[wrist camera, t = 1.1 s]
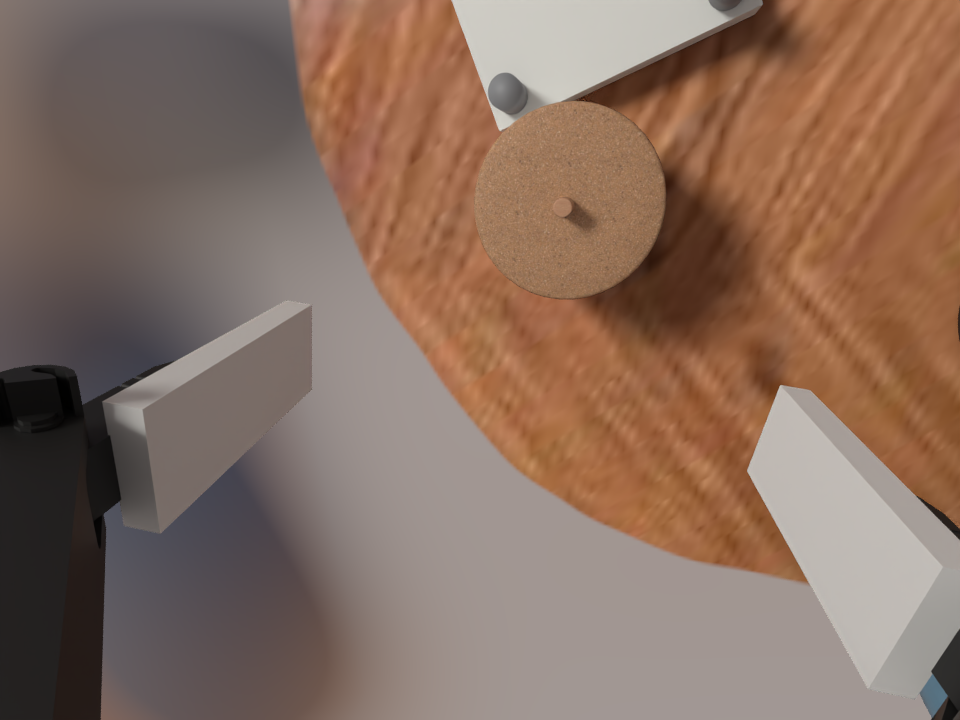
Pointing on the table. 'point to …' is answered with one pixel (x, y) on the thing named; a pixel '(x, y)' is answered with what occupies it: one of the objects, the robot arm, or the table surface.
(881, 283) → the table surface
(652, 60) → the grey stand
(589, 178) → the lidded jar
